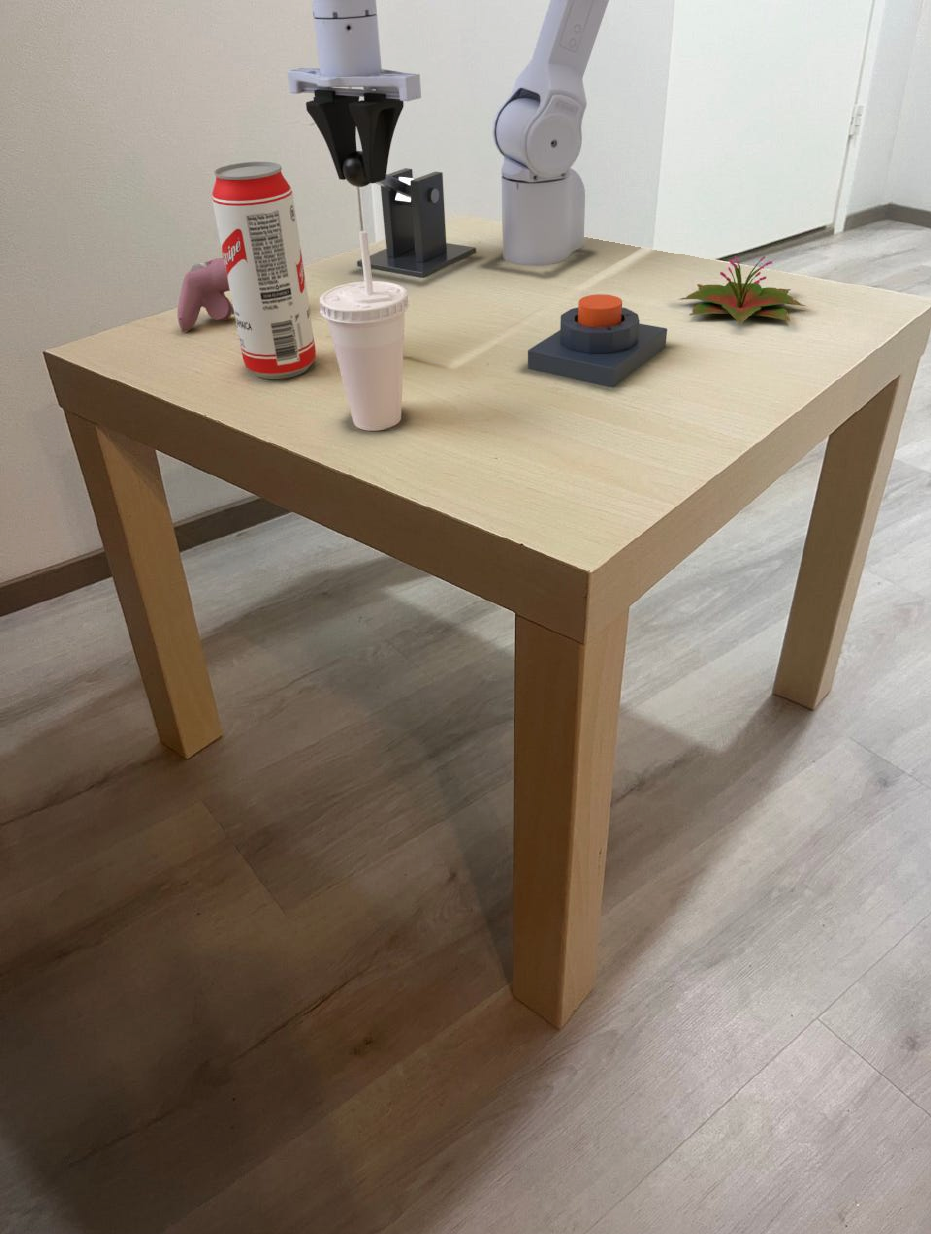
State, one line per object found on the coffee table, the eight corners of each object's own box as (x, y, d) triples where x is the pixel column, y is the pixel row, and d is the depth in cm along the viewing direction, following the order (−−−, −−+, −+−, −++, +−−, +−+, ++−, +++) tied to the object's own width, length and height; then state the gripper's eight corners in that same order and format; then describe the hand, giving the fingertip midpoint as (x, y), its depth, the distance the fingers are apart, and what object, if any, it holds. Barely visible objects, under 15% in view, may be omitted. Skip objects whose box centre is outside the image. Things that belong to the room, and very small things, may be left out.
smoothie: (386, 445, 69) (365, 249, 60) (318, 428, 72) (289, 238, 63) (434, 412, 73) (421, 224, 64) (368, 396, 76) (348, 214, 67)
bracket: (423, 284, 98) (416, 189, 92) (357, 272, 102) (347, 181, 97) (476, 258, 104) (473, 168, 99) (412, 248, 109) (406, 161, 103)
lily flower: (681, 285, 94) (686, 238, 91) (806, 291, 91) (815, 242, 88) (669, 328, 85) (674, 277, 82) (807, 335, 82) (817, 283, 79)
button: (590, 312, 80) (591, 291, 79) (628, 319, 78) (629, 298, 77) (569, 325, 78) (570, 304, 77) (608, 332, 76) (609, 311, 75)
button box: (585, 331, 85) (586, 293, 83) (665, 347, 81) (669, 307, 79) (527, 369, 79) (527, 329, 77) (612, 388, 75) (614, 346, 73)
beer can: (257, 388, 78) (219, 183, 68) (236, 363, 83) (197, 167, 73) (328, 372, 80) (300, 170, 71) (303, 349, 85) (274, 156, 75)
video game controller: (288, 335, 92) (286, 260, 91) (274, 329, 88) (272, 251, 86) (192, 335, 93) (188, 262, 92) (173, 330, 89) (169, 252, 87)
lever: (358, 183, 90) (364, 148, 89) (333, 180, 91) (339, 145, 90) (429, 213, 100) (435, 181, 99) (405, 210, 101) (411, 179, 100)
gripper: (256, 19, 85) (280, 181, 93) (380, 22, 78) (394, 196, 86) (308, 12, 89) (327, 166, 97) (430, 13, 82) (439, 179, 91)
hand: (362, 179), depth 92 cm, fingers closed on lever, 3 cm apart
